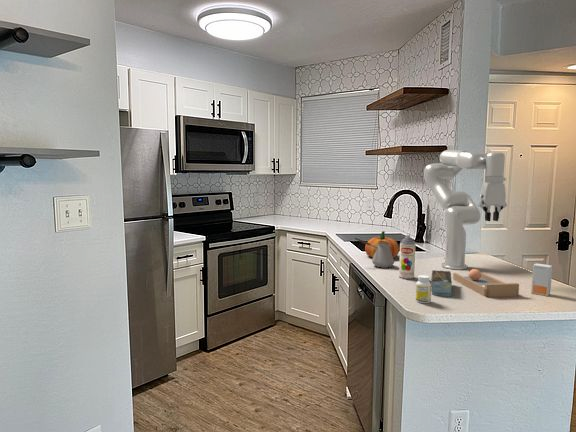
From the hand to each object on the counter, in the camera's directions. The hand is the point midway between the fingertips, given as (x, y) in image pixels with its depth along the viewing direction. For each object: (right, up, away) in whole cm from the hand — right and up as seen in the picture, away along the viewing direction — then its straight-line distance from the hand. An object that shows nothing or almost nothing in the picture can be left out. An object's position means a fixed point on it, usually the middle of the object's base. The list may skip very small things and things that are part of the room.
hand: (491, 220), depth 187 cm
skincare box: (+10, -30, -20) cm, 37 cm away
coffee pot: (-48, -24, +28) cm, 61 cm away
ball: (-10, -24, -4) cm, 26 cm away
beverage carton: (-28, -29, -14) cm, 43 cm away
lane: (-9, -29, -11) cm, 32 cm away
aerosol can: (-37, -27, +5) cm, 46 cm away
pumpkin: (-38, -22, +50) cm, 67 cm away
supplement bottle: (-41, -31, -31) cm, 60 cm away
